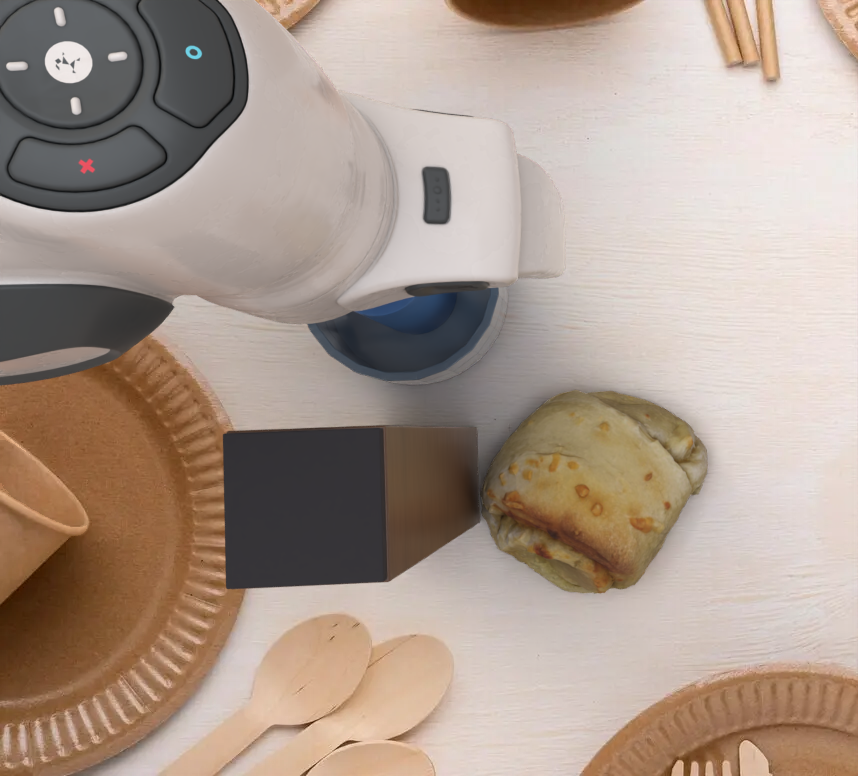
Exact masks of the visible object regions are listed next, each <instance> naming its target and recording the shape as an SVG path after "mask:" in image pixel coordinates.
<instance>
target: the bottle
mask: <svg viewBox="0 0 858 776" xmlns="http://www.w3.org/2000/svg"><path fill="white" fill-rule="evenodd" d="M456 297H457V292H452V293H443V294H436V295H429V296H422V297H416V296H415V297H410V298H406V299H402V300H399V301H395V302H392V303H388V304H385V305H382V306H378V307H375V308H371V309H367V310H362V311H354V312H356V313H359V314H361V315H363V316H365V317H368V318H370V319H372V320H374V321H376V322H379V323H381V324H383V325H385V326H388V327H390V328H392V329H394V330H397V331H399V332H402V333H406V334H423V333H427V332H430V331H432V330H434V329H436V328H438V327H439V326H440V325H442V324H443V323H444V322H445V321H446V320H447V319H448V317H449V316H450V314H451V313H452V311H453V309H454V306H455V303H456Z"/></svg>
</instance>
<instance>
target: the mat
mask: <svg viewBox="0 0 858 776" xmlns="http://www.w3.org/2000/svg"><path fill="white" fill-rule="evenodd" d="M222 457H223V458H222V459H223V460H222V461H223V462H222V463H223V464H222V465H223V468H222V469H223V513H224V514H223V517H224V518H223V519H224V561H225V563H224V564H225V589H226V590H244V589H243V588H253V589H265V588H264V587H274V588H287V587H286V586H296V587H308V586H307V585H317V586H329V585H328V584H338V585H351V584H350V583H360V584H372V583H371V582H381V583H384V582H383V581H385V580H387V560H386V523H385V485H384V447H383V428H358V429H331V430H304V431H277V432H250V433H227V432H225V433H223V434H222Z"/></svg>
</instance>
